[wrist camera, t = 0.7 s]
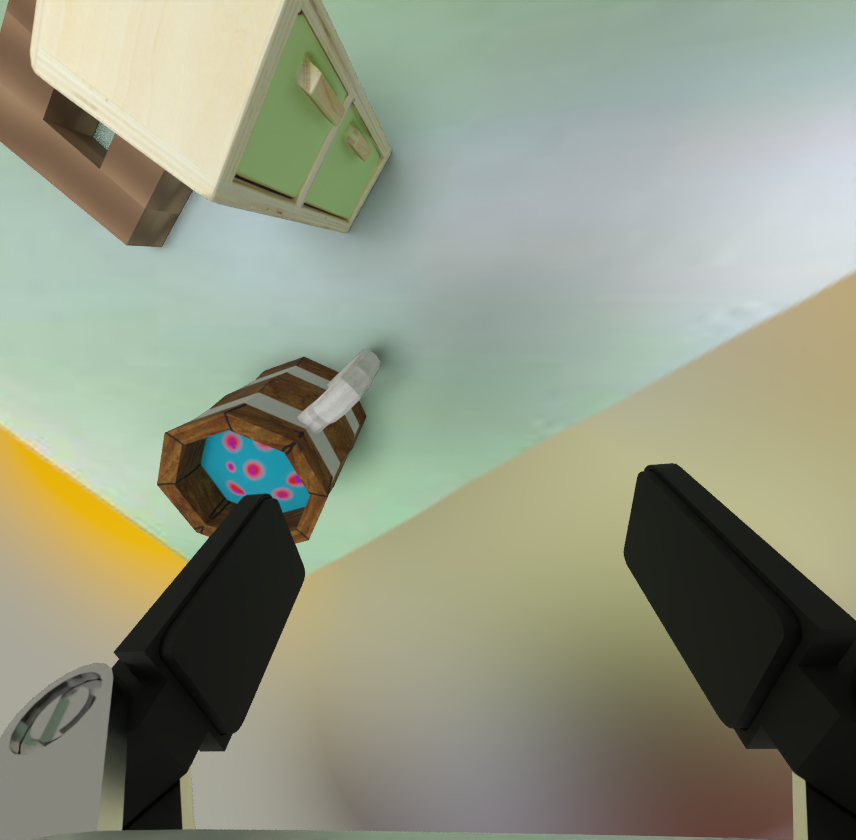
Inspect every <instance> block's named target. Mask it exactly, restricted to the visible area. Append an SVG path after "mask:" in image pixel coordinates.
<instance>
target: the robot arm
mask: <svg viewBox="0 0 856 840" xmlns="http://www.w3.org/2000/svg"><path fill="white" fill-rule="evenodd" d="M624 557H625V561H626V564H627V566H628V568H629V569H630V571H631V573H632V574H633V576H634V577H635V579H636V581H637V582H638V584H639V586H640V587H641V589H642V591H643V592H644V594H645V596H646V597H647V599H648V601H649V602H650V604H651V606H652V607H653V609H654V611H655V612H656V614H657V616H658V617H659V619H660V621H661V622H662V624H663V626H664V627H665V629H666V631H667V632H668V634H669V636H670V637H671V639H672V640H673V642H674V644H675V646H676V647H677V649H678V651H679V652H680V654H681V656H682V657H683V659H684V660H685V662H686V664H687V665H688V667H689V669H690V671H691V672H692V674H693V675H694V677H695V679H696V680H697V682H698V684H699V685H700V687H701V689H702V690H703V692H704V694H705V695H706V697H707V699H708V700H709V702H710V703H711V705H712V707H713V709H714V710H715V712H716V714H717V715H718V717H719V718H720V719H721V721H722V722H723V723H724V724H725V725H726V726H728V727H729V728H734V730H735V731H736V733H737V735H738V736H739V738H740V739H741V741H742V743H743V744H744V746H745V748H746V749H778V750H779V752H780V753H781V755H782V756H783V757H784V759H785V760H786V762H787V763H788V765H789V766H790V768H791V769H792V778H793V824H794V826H793V827H794V840H856V620H854V619H853V618H852V617H851V616H850V615H849V614H847V613H846V612H845V611H844V610H843V609H842V608H841V607H840V606H839V605H837V604H836V603H835V602H834V601H833V600H832V599H830V598H829V597H828V596H827V595H826V594H825V593H824V592H823V591H821V590H820V589H819V588H818V587H817V586H816V585H815V584H813V583H812V582H811V581H810V580H809V579H808V578H806V577H805V576H804V575H803V574H802V573H801V572H800V571H798V570H797V569H796V568H795V567H794V566H793V565H792V564H791V563H789V562H788V561H787V560H786V559H785V558H784V557H783V556H781V555H780V554H779V553H778V552H777V551H776V550H775V549H773V548H772V547H771V546H770V545H769V544H768V543H767V542H765V541H764V540H763V539H762V538H761V537H760V536H759V535H757V534H756V533H755V532H754V531H753V530H752V529H751V528H749V527H748V526H747V525H746V524H745V523H744V522H743V521H742V520H740V519H739V518H738V517H737V516H736V515H735V514H734V513H732V512H731V511H730V510H729V509H728V508H727V507H726V506H724V505H723V504H722V503H721V502H720V501H719V500H717V499H716V498H715V497H714V496H713V495H712V494H711V493H710V492H708V491H707V490H706V489H705V488H704V487H703V486H701V485H700V484H699V483H698V482H697V481H696V480H695V479H693V478H692V477H691V476H690V475H689V474H688V473H687V472H686V471H684V470H683V469H682V468H681V467H680V466H678V465H677V464H673V463H671V464H658V465H648V466H647V467H646V468H645V469H644V471H643V472H640V473H639V474H638V477H637V482H636V487H635V492H634V498H633V503H632V509H631V514H630V520H629V525H628V531H627V535H626V541H625V547H624ZM304 577H305V568H304V565H303V563H302V560H301V558H300V555H299V553H298V550H297V547H296V545H295V542H294V540H293V537H292V535H291V532H290V530H289V527H288V524H287V522H286V519H285V517H284V514H283V512H282V509H281V507H280V504H279V502H278V500H277V499H275V498H272V496H271V495H270V494H267V493H265V494H252V495H246V496H244V497H243V498H242V499H241V500H240V501H239V502H238V504H237V505H236V506H235V507H234V508H233V510H232V511H231V512H230V513H229V514H228V516H227V517H226V518H225V519H224V520H223V522H222V523H221V524H220V525H219V526H218V528H217V529H216V530H215V531H214V532H213V534H212V535H211V536H210V537H209V538H208V540H207V541H206V542H205V543H204V544H203V546H202V547H201V548H200V549H199V550H198V552H197V553H196V554H195V555H194V556H193V558H192V559H191V560H190V561H189V562H188V564H187V565H186V566H185V567H184V568H183V570H182V571H181V572H180V573H179V574H178V576H177V577H176V578H175V579H174V580H173V582H172V583H171V584H170V585H169V586H168V588H167V589H166V590H165V591H164V592H163V594H162V595H161V596H160V597H159V598H158V600H157V601H156V602H155V603H154V604H153V606H152V607H151V608H150V609H149V610H148V612H147V613H146V614H145V615H144V617H143V618H142V619H141V620H140V621H139V622H138V624H137V625H136V626H135V627H134V628H133V630H132V631H131V632H130V633H129V635H128V636H127V637H126V638H125V639H124V640H123V642H122V643H121V644H120V645H119V647H118V648H117V649H116V650H115V651H114V653H115V655H116V656H117V657H118V658H119V660H118V661H117V663H116V664H115V665H114V666H113V668H110V667H109V666H108V665H107V664H103V663H93V664H90V665H86V666H82V667H80V668H78V669H76V670H74V671H71V672H69V673H67V674H65V675H64V676H62V677H61V678H59V679H58V680H56V681H54V682H53V683H51V684H50V685H48V686H47V687H46V688H45V689H44V690H42V691H41V692H40V693H39V694H37V695H36V696H35V697H34V698H32V700H30V701H29V702H28V704H27V705H26V706H24V708H23V709H22V710H21V711H20V712H19V713H18V714H17V715H16V716H15V717H14V719H13V720H12V721H11V723H10V724H9V725H8V727H7V728H6V729H5V731H4V733H3V734H2V736H1V738H0V840H770V839H749V838H748V839H747V838H705V837H660V836H659V837H657V836H614V835H568V834H512V833H506V834H505V833H452V832H388V831H387V832H386V831H310V830H304V831H303V830H211V829H209V830H207V829H203V830H202V829H196V828H195V816H194V803H193V790H192V778H191V764H192V762H193V760H194V758H195V756H196V754H197V752H198V750H200V751H225V750H226V747H227V745H228V743H229V740H230V738H231V736H232V734H233V733H235V732H236V731H238V730H239V728H240V727H241V725H242V723H243V721H244V719H245V717H246V715H247V712H248V710H249V708H250V705H251V703H252V701H253V698H254V696H255V693H256V691H257V689H258V687H259V684H260V682H261V679H262V677H263V675H264V673H265V670H266V668H267V666H268V663H269V661H270V659H271V656H272V654H273V652H274V649H275V647H276V645H277V642H278V640H279V638H280V635H281V633H282V631H283V628H284V626H285V624H286V621H287V619H288V617H289V614H290V612H291V610H292V607H293V605H294V603H295V600H296V598H297V596H298V593H299V591H300V588H301V586H302V584H303V581H304ZM771 840H772V839H771Z"/></svg>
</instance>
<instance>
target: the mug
mask: <svg viewBox="0 0 856 840" xmlns="http://www.w3.org/2000/svg"><path fill="white" fill-rule="evenodd" d="M379 367H380V360H379V359H378V357H377V356H376V354H374V353H373V352H371V351H370V350H363V351H361V352H360V353H359V354H358V355H357V356H356V357H355V358H354V359H353V360H352V361H351V362H350V363H349V364H348V365H347V366H346V367H345V368H344V369H343V370H341V371H340V372H336V371H334V370H332V369H330V368H328V367H325V366H323V365H321V364H319V363H317V362H314V361H312V360H310V359H308V358H306V357H302V358H299V359H297V360H294V361H291V362H288V363H285V364H283V365H280V366H277V367H274V368H271V369H269V370H266V371H264V372H263V373H262V374H261V375H260V376H259V377H258V378H257V379H256V380H254V381H253V382H251V383H250V384H248V385H247V386H245V387H243V388H241V389H239V390H237V391H235V392H232V393H230V394H228V395H226V396H224V397H223V398H222V399H221V400H220V401H219V402H217V403H216V404H215V405H214V406H213V407H211V408H210V409H209V410H208V411H206V412H204V413H203V414H201V415H200V416H198V417H197V418H195V419H194V420H192V421H190V422H188V423H186V424H183V425H181V426H179V427H177V428H175V429H172V430H170V431H168V432H166V433H165V435H164V442H163V448H162V455H161V462H160V469H159V475H158V482H157V485H158V486H159V488H160V489H161V490H162V491H163V492H164V494H165V495H166V496H167V497H168V498H169V500H170V501H171V502H172V503H173V504H174V506H175V507H176V508H177V509H178V510H179V512H180V513H181V514H182V515H183V516H184V518H185V519H186V520H187V521H188V522H189V524H190V525H191V526H192V527H193V528H194V530H195V531H196V532H197V533H200V534H203V535H206V536H209V537H210V536H211V535H212V534H213V532H214V531H215V530H216V529H217V528H218V526H219V525H220V524H221V523H222V522H223V520H224V519H225V518H226V517H227V516H228V514H229V513H230V512H231V511H232V510H233V508H234V507H235V506H236V505H237V504H238V502H239V501H240V500H241V499H242V498H243V497H244V496H246V495H252V494H265V493H267V494H270V495H271V496H272V498H275V499H277V500H278V502H279V504H280V507H281V509H282V512H283V514H284V517H285V519H286V522H287V524H288V527H289V530H290V532H291V535H292V537H293V540H294V542H295V543H299V542H303V541H307V540H309V538H310V536H311V534H312V532H313V529H314V527H315V525H316V522H317V520H318V518H319V516H320V513H321V511H322V509H323V507H324V504H325V502H326V500H327V498H328V495H329V493H330V491H331V490H332V488H333V487H334V485H335V483H336V481H337V478H338V476H339V474H340V472H341V469H342V467H343V465H344V462H345V460H346V458H347V456H348V454H349V452H350V451H351V450H352V448H353V445H354V443H355V441H356V439H357V437H358V434H359V432H360V430H361V428H362V425H363V423H364V421H365V419H366V414H365V412H364V410H363V408H362V406H361V403H360V401H359V400H360V399H361V398H362V396H363V395H364V394H365V392H366V391H367V390H368V388H369V387H370V386H371V383H372V380H373V378H374V376H375V374H376V373H377V371H378V369H379Z"/></svg>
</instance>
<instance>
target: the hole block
mask: <svg viewBox="0 0 856 840" xmlns="http://www.w3.org/2000/svg"><path fill="white" fill-rule="evenodd" d="M35 7H36V0H9V2H8V6H7V9H6V13H5V16H4V20H3V24H2V27H1V31H0V142H2V143H3V144H4V145H5V146H6V147H8V148H9V149H10V150H11V151H12V152H14V153H15V154H16V155H17V156H19V157H20V158H21V159H22V160H23V161H25V162H26V163H27V164H28V165H29V166H31V167H32V168H33V169H34V170H36V171H37V172H38V173H39V174H40V175H42V176H43V177H44V178H45V179H47V180H48V181H49V182H50V183H51V184H53V185H54V186H55V187H56V188H57V189H59V190H60V191H61V192H62V193H64V194H65V195H66V196H67V197H68V198H70V199H71V200H72V201H73V202H74V203H76V204H77V205H78V206H79V207H81V208H82V209H83V210H84V211H85V212H87V213H88V214H89V215H90V216H92V217H93V218H94V219H95V220H96V221H98V222H99V223H100V224H101V225H102V226H104V227H105V228H106V229H107V230H109V231H110V232H111V233H112V234H113V235H115V236H116V237H117V238H118V239H119V240H121V241H122V242H123V243H124V244H126V245H132V246H152V247H162V245H163V243H164V241H165V240H166V238H167V236H168V234H169V232H170V230H171V229H172V227H173V225H174V223H175V221H176V219H177V218H178V216H179V214H180V212H181V210H182V209H183V207H184V205H185V203H186V201H187V199H188V198H189V196H190V194H191V192H192V189H191V188H190V187H188V186H187V185H186V184H184V183H183V182H181V181H180V180H179V179H177V178H176V177H175V176H173V175H172V174H170V173H169V172H168V171H166V170H165V169H164V168H162V167H161V166H160V165H158V164H157V163H155V162H154V161H153V160H151V159H150V158H149V157H147V156H146V155H145V154H143V153H142V152H141V151H139V150H138V149H136V148H135V147H134V146H132V145H131V144H130V143H128V142H127V141H126V140H124V139H123V138H121V137H120V136H119V135H117V134H116V133H115V135H114V138H113V140H112V142H111V145H110V147H109V149H108V151H107V150H106V149H105V148H104V147H103V146H102V145H101V144H99V143H98V142H97V141H96V140H95V139H94V138H93V135H94V132H95V130H96V127H97V125H98V122H99V121H98V120H97V119H96V118H94V117H93V116H92V115H90V114H89V113H87V112H86V111H85V110H83V109H82V108H81V107H79V106H78V105H76V104H75V103H74V102H72V101H71V100H70V99H68V98H67V97H66V96H64V95H63V94H62V93H60V92H59V91H58V90H56V89H55V88H53V87H52V86H51V85H49V84H48V83H47V82H46V81H44V80H43V79H42V78H41V77H39V76H38V75H37V74H36V73H35V72H34V71H33V69H32V66H31V59H30V46H31V38H32V30H33V23H34V15H35Z"/></svg>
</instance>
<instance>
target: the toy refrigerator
mask: <svg viewBox="0 0 856 840" xmlns="http://www.w3.org/2000/svg"><path fill="white" fill-rule="evenodd" d="M30 59H31V66H32V69H33V71H34V72H35V73H36V74H37V75H38V76H39V77H41V78H42V79H43V80H44V81H46V82H47V83H48V84H49V85H51V86H52V87H53V88H55V89H56V90H58V91H59V92H60V93H62V94H63V95H64V96H66V97H67V98H68V99H70V100H71V101H72V102H74V103H75V104H76V105H78V106H79V107H81V108H82V109H83V110H85V111H86V112H87V113H89V114H90V115H92V116H93V117H94V118H96V119H97V120H98V121H100V122H101V123H103V124H104V125H105V126H107V127H108V128H109V129H111V130H112V131H113V132H115V133H116V134H117V135H119V136H120V137H121V138H123V139H124V140H126V141H127V142H128V143H130V144H131V145H132V146H134V147H135V148H136V149H138V150H139V151H141V152H142V153H143V154H145V155H146V156H147V157H149V158H150V159H151V160H153V161H154V162H155V163H157V164H158V165H160V166H161V167H162V168H164V169H165V170H166V171H168V172H169V173H170V174H172V175H173V176H175V177H176V178H177V179H179V180H180V181H181V182H183V183H184V184H186V185H187V186H188V187H190V188H191V189H192V190H194V191H195V192H197V193H198V194H200V195H201V196H203V197H204V198H206V199H208V200H210V201H212V202H215V203H217V204H221V205H225V206H229V207H234V208H238V209H243V210H247V211H251V212H256V213H260V214H264V215H268V216H273V217H278V218H282V219H287V220H291V221H295V222H300V223H304V224H308V225H312V226H316V227H321V228H325V229H329V230H334V231H338V232H343V233H347V232H348V231H349V229H350V227H351V225H352V224H353V222H354V220H355V218H356V216H357V215H358V213H359V211H360V209H361V207H362V205H363V204H364V202H365V200H366V198H367V196H368V195H369V193H370V191H371V189H372V187H373V185H374V184H375V182H376V180H377V178H378V176H379V175H380V173H381V171H382V169H383V167H384V166H385V164H386V162H387V160H388V158H389V156H390V154H391V147H390V145H389V143H388V141H387V139H386V137H385V135H384V133H383V131H382V129H381V126H380V124H379V122H378V120H377V118H376V116H375V114H374V111H373V109H372V107H371V105H370V103H369V101H368V99H367V97H366V95H365V93H364V91H363V88H362V86H361V84H360V82H359V80H358V77H357V75H356V73H355V71H354V69H353V66H352V64H351V62H350V60H349V58H348V56H347V53H346V51H345V49H344V47H343V45H342V43H341V41H340V39H339V37H338V34H337V32H336V30H335V28H334V26H333V24H332V22H331V20H330V18H329V15H328V13H327V11H326V9H325V7H324V5H323V2H322V0H36V7H35V15H34V23H33V30H32V38H31V46H30Z"/></svg>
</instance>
